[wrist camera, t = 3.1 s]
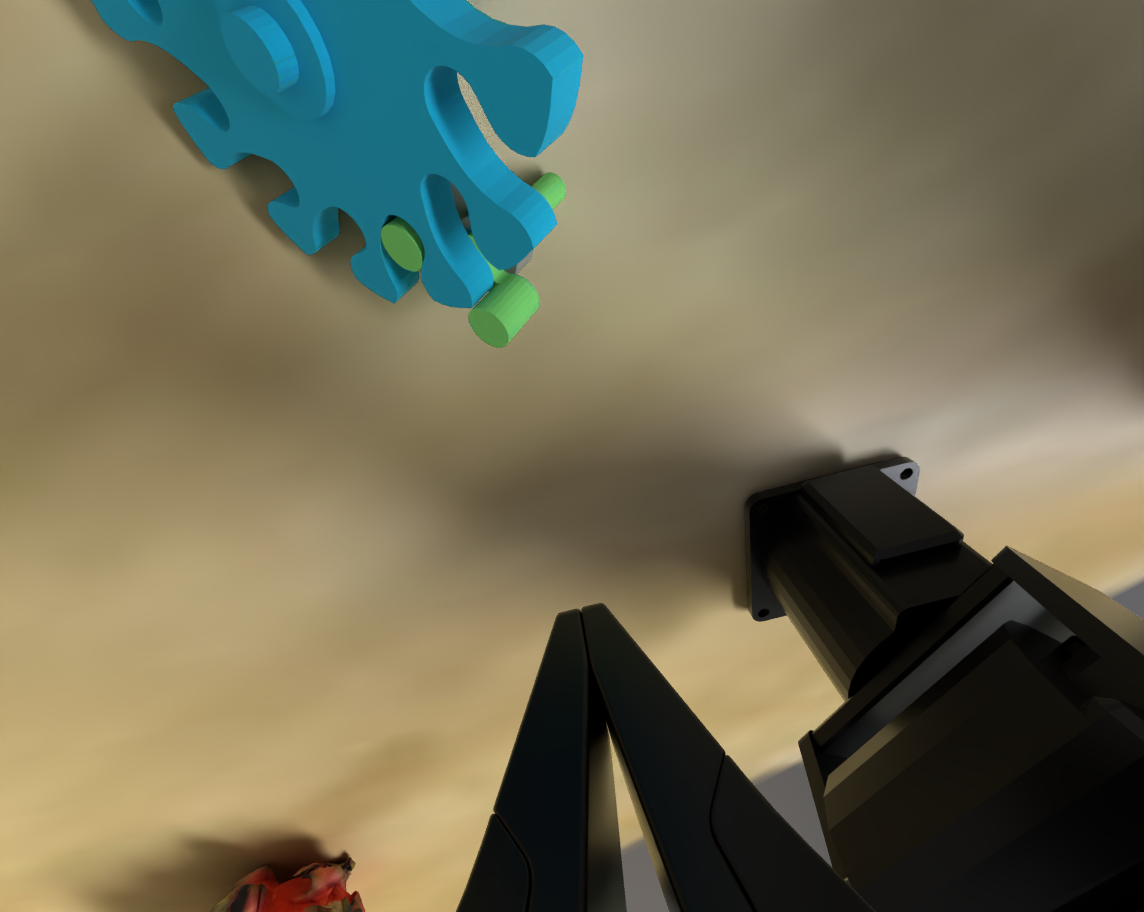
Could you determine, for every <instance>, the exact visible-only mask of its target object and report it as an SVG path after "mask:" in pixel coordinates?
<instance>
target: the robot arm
mask: <svg viewBox="0 0 1144 912" xmlns="http://www.w3.org/2000/svg"><path fill="white" fill-rule="evenodd" d="M903 470H904V471H903ZM902 471H903V472H902ZM919 471H920V470H919V466H918V464H917V463H915V462H914V461H912V460H911V459H910V458H907V457H900V458H896V459H892V460H888V461H883V462H879V463H875V464H871V465H867V466H863V467H859V468H855V469H851V470H847V471H843V472H839V473H835V474H831V475H827V476H823V477H819V478H815V479H811V480H807V481H803V482H799V483H795V484H791V485H787V486H783V487H779V488H775V489H771V490H767V491H763V492H759V493H756V494H753V495H752V496H750V497H749V498H748V499H747V501H746V502H745V533H746V562H747V591H748V610H749V612H750V614H751V616H752V617H753V619H754V620H755V621H759V622H760V621H766V620H770V619H774V618H778V617H782V616H786V615H787V616H788V617H789V619H790V620H791V622H792V623H793V625H794V626H795V628H796V629H797V631H798V632H799V634H800V635H801V637H802V638H803V640H804V641H805V643H806V644H807V646H808V647H809V649H810V650H811V652H812V653H813V655H814V656H815V658H816V659H817V661H818V662H819V664H820V665H821V667H822V668H823V670H824V671H825V673H826V674H827V676H828V677H829V679H830V680H831V682H832V683H833V685H834V686H835V688H836V689H837V691H838V692H839V694H840V695H841V697H842V698H843V700H844V701H845V702H844V703H843V704H842V705H841V706H840V707H839V708H838V709H837V710H836V711H835V712H834V713H833V714H832V715H831V716H829V717H828V718H827V719H826V720H825V721H824V722H823V723H822V724H821V725H820V726H819V727H818V728H817V729H816V730H814V731H812V730H810V731H808V732H807V733H806V734H805V735H804V736H803V737H802V738H801V739H800V740H799V741H798V744H799V748H800V751H801V755H802V759H803V762H804V766H805V769H806V773H807V776H808V780H809V783H810V787H811V791H812V795H813V798H814V802H815V806H816V809H817V813H818V816H819V820H820V823H821V827H822V831H823V834H824V837H825V841H826V845H827V848H828V852H829V856H830V859H831V863H832V867H833V868H832V867H831V866H830V865H829V864H828V863H827V862H826V861H825V860H824V859H823V858H822V857H821V856H820V855H819V854H818V853H817V852H815V850H814V849H812V847H811V846H809V845H808V844H807V842H806V841H805V840H804V839H803V838H802V837H801V836H800V835H799V834H798V833H797V832H796V831H795V830H794V829H793V828H792V827H791V826H790V825H789V824H788V823H787V822H786V821H785V820H784V818H783V817H782V816H781V815H780V814H779V813H778V812H777V811H776V810H775V809H774V808H773V807H772V806H771V804H770V803H769V802H768V801H767V800H766V799H765V798H764V796H762V794H761V793H760V792H759V791H758V790H757V789H756V787H755V786H754V785H753V784H752V783H751V782H750V780H749V779H748V778H747V777H746V776H745V774H744V773H743V772H742V771H741V770H740V768H739V767H738V766H737V765H736V764H735V762H734V761H733V760H732V759H731V757H730V756H728V755H725V751H724V749H723V748H722V747H721V746H720V744H719V743H718V742H717V741H716V740H715V738H714V737H713V736H712V735H711V733H710V732H709V731H708V730H707V729H706V727H705V726H704V725H703V724H702V722H701V721H700V720H699V719H698V718H697V716H696V715H695V714H694V713H693V712H692V710H691V709H690V708H689V707H688V705H687V704H686V703H685V702H684V701H683V699H682V698H681V697H680V696H679V694H678V693H677V692H676V691H675V690H674V688H673V687H672V686H671V685H670V683H669V682H668V681H667V680H666V679H665V677H664V676H663V675H662V674H661V673H660V671H659V670H658V669H657V668H656V666H655V665H654V664H653V663H652V662H651V660H650V659H649V658H648V657H647V655H646V654H645V653H644V652H643V651H642V649H641V648H640V647H639V646H638V644H637V643H636V642H635V641H634V640H633V638H632V637H631V636H630V635H629V634H628V632H627V631H626V630H625V629H624V627H623V626H622V625H621V624H620V623H619V621H618V620H617V619H616V618H615V616H614V615H613V614H612V613H611V612H610V610H609V609H608V608H607V607H606V606H605V605H604V604H603V603H598V604H593V605H589V606H585V607H583V608H582V610H581V611H580V610H579V609H573V610H569V611H565V612H561V613H559V614H558V615H557V617H556V619H555V622H554V625H553V628H552V631H551V634H550V637H549V640H548V643H547V646H546V649H545V652H544V655H543V658H542V662H541V665H540V668H539V671H538V674H537V677H536V680H535V683H534V686H533V689H532V692H531V695H530V698H529V701H528V704H527V707H526V710H525V713H524V716H523V719H522V722H521V725H520V729H519V732H518V735H517V738H516V741H515V744H514V747H513V750H512V753H511V756H510V759H509V762H508V765H507V768H506V771H505V774H504V777H503V780H502V783H501V786H500V789H499V792H498V795H497V799H496V802H495V805H494V808H493V811H494V813H495V814H492V815H491V816H490V819H489V822H488V825H487V828H486V831H485V834H484V837H483V840H482V843H481V846H480V849H479V852H478V855H477V858H476V860H475V863H474V866H473V869H472V872H471V874H470V877H469V880H468V883H467V885H466V888H465V891H464V893H463V896H462V898H461V900H460V903H459V905H458V908H457V910H456V912H627V909H626V899H625V888H624V878H623V868H622V857H621V847H620V837H619V826H618V816H617V806H616V796H615V785H614V775H613V765H612V755H611V746H610V738H609V733H610V736H611V739H612V743H613V746H614V749H615V752H616V755H617V758H618V761H619V764H620V767H621V770H622V773H623V776H624V779H625V782H626V785H627V788H628V791H629V794H630V797H631V800H632V803H633V806H634V809H635V812H636V815H637V818H638V821H639V823H640V826H641V829H642V832H643V835H644V838H645V841H646V844H647V847H648V850H649V853H650V856H651V859H652V862H653V865H654V868H655V871H656V874H657V877H658V880H659V883H660V886H661V889H662V892H663V895H664V898H665V900H666V903H667V906H668V909H669V912H1144V620H1143V619H1142V618H1140V617H1139V616H1137V615H1136V614H1134V613H1133V612H1131V611H1130V610H1128V609H1126V608H1125V607H1123V606H1122V605H1120V604H1119V603H1117V602H1116V601H1114V600H1113V599H1111V598H1110V597H1108V596H1106V595H1105V594H1103V593H1102V592H1100V591H1098V590H1096V589H1094V588H1092V587H1090V586H1088V585H1086V584H1084V583H1082V582H1080V581H1078V580H1076V579H1074V578H1072V577H1070V576H1068V575H1066V574H1064V573H1062V572H1060V571H1058V570H1056V569H1054V568H1052V567H1049V566H1047V565H1045V564H1043V563H1041V562H1039V561H1037V560H1035V559H1033V558H1031V557H1029V556H1027V555H1025V554H1023V553H1021V552H1019V551H1017V550H1015V549H1013V548H1011V547H1009V546H1006V547H1005V548H1003V549H1002V550H1001V551H1000V552H999V553H998V554H997V555H996V556H995V557H994V558H993V559H992V560H991V561H992V562H993V564H992V563H991V562H989V561H988V560H987V559H985V558H984V557H983V556H981V555H980V554H979V553H978V552H976V551H975V550H974V549H972V548H971V547H970V546H969V545H967V544H966V543H965V542H963V537H964V534H963V533H962V532H961V531H960V530H959V529H957V528H956V527H955V526H953V525H952V524H951V523H949V522H948V521H947V520H945V519H944V518H943V517H941V516H940V515H939V514H937V513H936V512H935V511H933V510H932V509H931V508H929V507H928V506H927V505H925V504H924V503H923V502H921V501H920V500H919V499H918V498H916V497H915V493H916V488H917V482H918V476H919ZM901 472H902V473H901ZM762 504H763V506H762V507H761V508H759V509H756V508H757V507H758V506H759V505H762ZM607 726H608V727H607ZM608 729H609V732H608Z"/></svg>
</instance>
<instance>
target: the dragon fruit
mask: <svg viewBox="0 0 1144 912" xmlns="http://www.w3.org/2000/svg"><path fill="white" fill-rule="evenodd" d="M304 866H305V865H304ZM354 866H355V862H354V861H353V860H352V859H351V858H349V859H348V860H347V861H346V862H345V863H340V864H333V863H329V862H324V863H320V864H318V863H312V864H310V865H308V866H306V867H303V866H302V867H303V868H301V869H300V870H299V871H298V872H297V873H296V874H294V875H293V876H297V875H299V874H301V873H303V872H305V871H306V872H305V873H304V874H303V875H302V876H301V877H297V878H294V879H291V880H289V881H287V882H284V883H282V884H279V883H278V881H277V880H276V878H275V874H274V872H273V871H272V869H271V868H270V867H269V866H268V865H264V866H262V867H260V868H258V869H256V870H255V871H253V872H251V873H250V874H248V875H247V876H246V877H244V878H242V879H240V880H239V881H237V882H236V883H234V888H233V889H232V892H231V893H230V894H228V895H227V896H226V897H225V898H224V899H223V900H222V901H220V902H219V903H218V904H217V905H216V906H214V907H213V909H212V910H211V912H365V909H364V907H363V904H362V900H361V898H360V895H359V893H358V892H357V891H355V892H354V893H353V894H352V895H350V894H349V893H348V892H346V881H347V879H348V877H349V875H351V871H352V870H353V868H354ZM293 876H292V877H293Z"/></svg>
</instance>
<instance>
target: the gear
mask: <svg viewBox="0 0 1144 912" xmlns="http://www.w3.org/2000/svg"><path fill="white" fill-rule="evenodd" d="M92 2H93V4H94V6H95V7H96V9H97V11H98V13H99V15H100V17H101V18H102V20H103V21H104V22H105V23H106V24H107V25H108V26H109V27H110V28H111V29H112V30H113V31H114V32H115V33H117V34H118V35H119V36H121V37H122V38H124V39H126V40H128V41H136V40H141V41H147V42H149V43H152V44H154V45H156V46H159V47H160V48H162V49H163V50H165V51H167V52H168V53H170V54H171V55H172V56H174V57H175V58H176V59H178V60H179V61H180V62H181V63H183V64H184V65H185V66H186V67H187V68H189V69H190V70H191V71H192V72H193V73H194V74H196V75H197V76H198V77H199V78H200V79H202V80H203V81H204V82H205V83H206V84H207V85H208V86H209V87H210V88H207V89H205V90H203V91H201V92H199V93H196V94H194V95H192V96H190V97H188V98H185V99H183V100H181V101H179V102H177V103H175V104H174V105H173V110H174V112H175V113H176V115H177V117H178V119H179V121H180V122H181V124H182V125H183V127H184V128H185V130H186V131H187V133H188V134H189V136H190V137H191V138H192V140H193V141H194V142H195V144H196V145H197V147H198V148H199V149H200V150H201V152H202V153H203V154H204V156H205V157H206V158H207V160H208V161H209V162H210V163H211V164H212V165H214V166H215V167H217V168H220V169H226V168H228V167H230V166H232V165H233V164H235V163H237V162H239V161H240V160H242V159H244V158H246V157H248V156H249V155H251V154H255V155H257V156H260V157H263V158H266V159H268V160H270V161H272V162H274V163H275V164H277V165H278V166H279V167H280V168H281V169H282V170H283V171H284V172H285V173H286V174H287V176H288V177H289V178H290V180H291V181H292V183H293V184H294V186H295V187H293V188H292V189H290V190H289V191H287V192H285V193H284V194H282V195H281V196H279V197H278V198H276V199H274V200H273V201H271V202H270V203H269V204H268V212H269V216H270V217H271V218H272V219H273V221H274V222H275V223H276V224H277V225H278V227H279V228H280V229H281V230H282V231H283V232H284V233H285V234H286V235H287V236H288V237H289V238H290V239H291V240H292V241H293V242H294V243H295V244H296V245H297V246H298V247H299V248H300V249H302V250H303V251H304V252H305V253H306V254H307V255H312V254H314V253H316V252H317V251H318V250H320V249H321V248H322V247H324V246H325V245H326V244H328V243H329V242H331V241H332V240H333V239H335V238H336V237H337V236H338V235H339V233H340V227H339V222H338V208H340V209H342V210H343V211H345V212H346V213H347V214H348V215H349V216H351V217H352V219H353V220H354V221H355V222H356V223H357V225H358V226H359V227H360V229H361V231H362V233H363V235H364V237H365V240H366V246H365V247H364V248H363V249H361V250H360V251H359V252H358V253H356V254H355V255H354V256H352V258H351V263H350V264H351V268H352V271H353V273H354V275H355V277H356V279H357V280H359V281H360V282H361V283H362V284H363V285H364V286H366V287H367V288H369V289H370V290H371V291H373V292H374V293H376V294H378V295H379V296H381V297H383V298H385V299H386V300H388V301H390V302H392V303H395V302H396V301H397V300H399V299H400V298H401V297H402V296H403V295H404V294H405V293H406V292H407V291H409V290H410V289H411V288H412V287H413V286H414V285H415V284H416V283H417V282H418V280H419V272H418V271H419V270H420V269H421V279H422V282H423V285H424V287H425V289H426V290H427V292H428V293H429V295H430V296H431V297H432V299H433V300H434V301H436V302H438V303H441V304H443V305H447V306H450V307H458V308H472V307H473V306H474V305H475V304H476V303H477V302H478V301H479V300H480V299H481V298H482V297H483V296H484V295H485V294H486V293H487V292H488V291H489V293H488V294H487V295H486V296H485V297H484V298H483V299H482V300H481V301H480V302H479V303H478V304H477V305H476V306H475V307H474V308H473V309H472V310H471V311H470V313H469V322H470V325H471V327H472V329H473V331H474V332H475V333H476V335H477V336H478V337H479V338H480V339H482V340H483V341H484V342H485V343H487V344H489V345H491V346H493V347H497V348H502V347H505V346H506V345H507V344H508V343H509V342H510V341H511V339H512V338H513V337H514V336H515V335H516V334H517V332H518V331H519V330H520V329H521V328H522V327H523V326H524V324H525V323H526V322H527V321H528V320H529V319H530V317H531V316H532V315H533V314H534V313H535V312H536V311H537V309H538V307H539V303H540V302H539V296H538V293H537V292H536V290H535V288H534V287H533V286H532V284H531V283H530V282H529V281H528V280H526V279H525V278H523V277H522V276H520V275H517V273H518V272H519V271H520V270H521V269H522V268H523V267H524V266H525V265H526V264H527V263H528V262H529V261H530V259H531V257H532V252H533V249H534V248H535V247H536V246H537V245H538V244H539V243H540V242H541V241H542V240H543V238H544V237H545V236H546V235H547V234H548V233H549V232H550V231H551V230H552V229H553V228H554V227H555V226H556V225H557V221H556V218H555V214H554V212H553V209H554V208H555V207H556V206H557V205H558V204H559V203H560V202H561V201H562V200H563V199H564V197H565V195H566V188H565V185H564V183H563V181H562V179H561V178H560V177H559V176H558V175H556V174H554V173H546V174H544V175H543V176H542V177H541V178H540V179H539V180H538V181H537V182H536V183H535V184H534V185H532V186H530V185H528V184H526V183H525V182H523V181H522V180H521V179H520V178H519V177H517V176H516V175H515V174H514V173H513V172H512V171H510V170H509V168H508V167H507V166H506V165H505V164H504V163H503V162H502V161H501V160H500V159H499V158H498V156H497V155H496V154H495V152H494V151H493V150H492V148H491V147H490V145H489V144H488V143H487V141H486V140H485V138H484V136H483V134H482V133H481V131H480V129H479V127H478V126H477V124H476V122H475V120H474V118H473V116H472V114H471V112H470V110H469V108H468V106H467V104H466V103H465V101H464V98H463V96H462V94H461V91H460V88H459V84H458V79H457V72H458V73H459V74H460V75H462V76H463V77H464V78H465V80H466V81H467V82H468V83H469V85H470V86H471V88H472V89H473V91H474V93H475V94H476V96H477V98H478V100H479V103H480V105H481V107H482V109H483V111H484V113H485V115H486V117H487V119H488V121H489V123H490V124H491V126H492V128H493V129H494V131H495V133H496V134H497V135H498V137H499V138H500V139H501V140H502V142H504V143H505V144H506V145H507V146H508V147H509V148H510V149H512V150H513V151H515V152H517V153H518V154H521V155H523V156H526V157H536V156H537V155H538V154H540V153H541V152H542V151H543V150H544V149H545V148H547V147H548V146H549V145H550V144H551V143H552V142H554V141H555V140H556V139H557V138H558V137H559V136H560V135H562V134H563V132H564V130H565V129H566V127H567V125H568V124H569V122H570V119H571V117H572V114H573V111H574V108H575V105H576V100H577V95H578V90H579V85H580V77H581V69H582V61H583V54H582V53H581V51H580V49H579V48H578V46H577V45H576V43H575V42H574V41H573V40H572V39H571V38H570V37H569V36H568V35H567V34H566V33H565V32H563V31H561V30H560V29H558V28H556V27H553V26H549V25H537V26H530V27H523V26H515V25H509V24H506V23H503V22H500V21H498V20H495V19H492V18H491V17H489V16H487V15H486V14H484V13H483V12H481V11H479V10H478V9H476V8H475V7H474V6H472V5H471V4H470V3H469V2H468V1H467V0H92Z"/></svg>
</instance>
